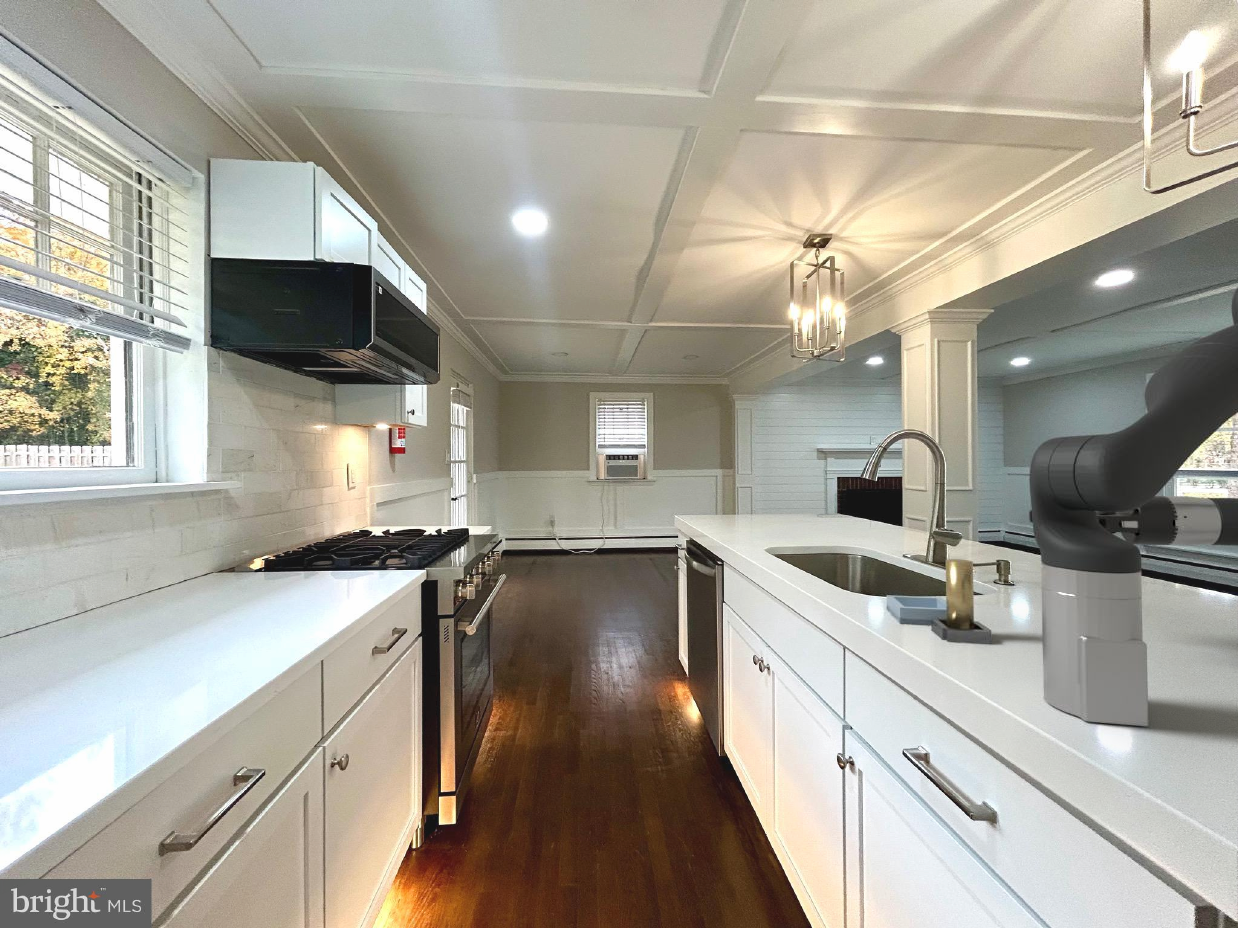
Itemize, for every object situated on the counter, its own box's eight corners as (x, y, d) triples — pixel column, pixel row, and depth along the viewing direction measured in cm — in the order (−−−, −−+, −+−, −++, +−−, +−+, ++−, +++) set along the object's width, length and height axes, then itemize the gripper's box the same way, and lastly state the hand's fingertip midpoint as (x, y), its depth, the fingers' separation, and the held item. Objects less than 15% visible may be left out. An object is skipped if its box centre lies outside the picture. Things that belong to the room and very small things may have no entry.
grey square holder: (994, 644, 88) (994, 632, 88) (944, 641, 90) (944, 629, 90) (975, 630, 96) (975, 619, 96) (929, 628, 97) (929, 617, 97)
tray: (960, 626, 98) (959, 610, 98) (900, 623, 101) (900, 607, 101) (940, 612, 108) (940, 597, 108) (886, 609, 110) (886, 595, 110)
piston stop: (978, 640, 90) (976, 563, 91) (951, 638, 91) (950, 562, 91) (968, 633, 94) (967, 559, 94) (943, 631, 95) (942, 558, 95)
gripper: (1143, 493, 89) (1023, 493, 95) (1193, 499, 76) (1051, 498, 82) (1144, 539, 89) (1025, 535, 95) (1195, 552, 76) (1052, 547, 82)
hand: (1037, 518), depth 89 cm, fingers open, 8 cm apart
